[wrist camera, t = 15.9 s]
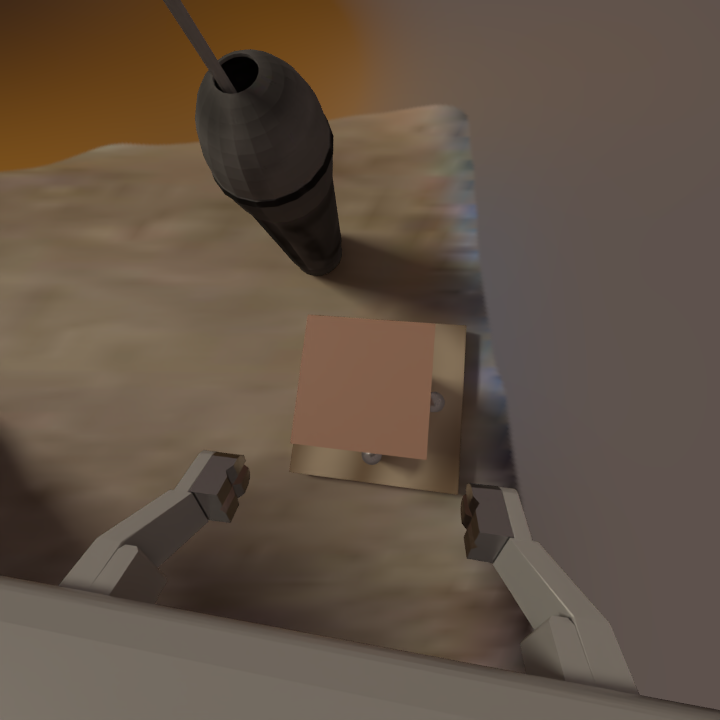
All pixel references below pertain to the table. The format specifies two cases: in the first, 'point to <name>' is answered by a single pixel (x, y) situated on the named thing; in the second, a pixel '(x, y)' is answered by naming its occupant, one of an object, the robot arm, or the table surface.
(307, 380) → the terracotta post
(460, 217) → the table surface
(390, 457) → the pin plate
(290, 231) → the beverage cup
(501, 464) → the table surface
